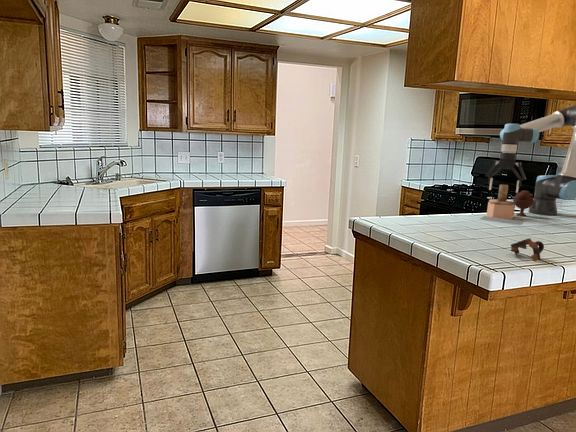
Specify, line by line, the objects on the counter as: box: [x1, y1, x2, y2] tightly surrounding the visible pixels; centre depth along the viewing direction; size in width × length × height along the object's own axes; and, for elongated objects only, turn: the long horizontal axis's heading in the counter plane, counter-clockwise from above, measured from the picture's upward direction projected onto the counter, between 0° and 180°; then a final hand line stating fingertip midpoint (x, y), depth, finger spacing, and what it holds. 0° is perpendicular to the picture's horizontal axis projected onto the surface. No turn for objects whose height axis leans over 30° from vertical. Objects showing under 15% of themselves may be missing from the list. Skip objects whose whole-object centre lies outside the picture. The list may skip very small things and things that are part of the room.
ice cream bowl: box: [512, 189, 534, 218], centre depth 257 cm, size 11×11×15 cm
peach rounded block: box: [488, 184, 516, 206], centre depth 248 cm, size 13×13×10 cm
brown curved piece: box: [510, 237, 545, 262], centre depth 165 cm, size 12×10×8 cm
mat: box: [479, 215, 525, 226], centre depth 238 cm, size 20×14×1 cm
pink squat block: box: [486, 201, 516, 219], centre depth 250 cm, size 13×13×8 cm
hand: (503, 191), depth 248 cm, fingers open, 13 cm apart
